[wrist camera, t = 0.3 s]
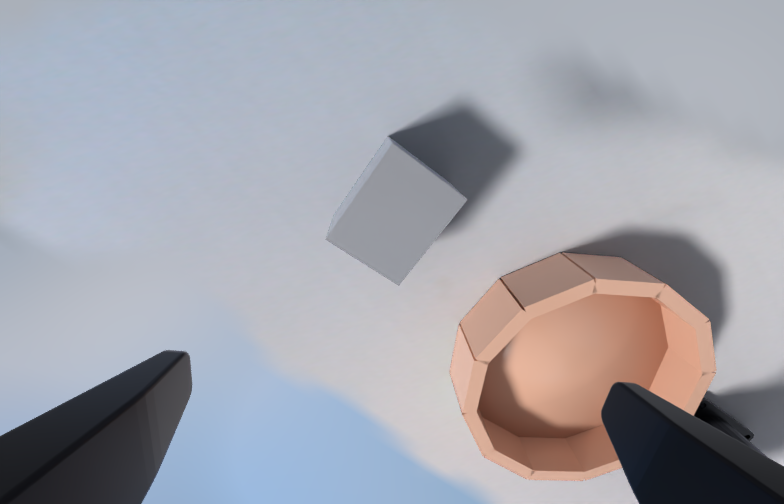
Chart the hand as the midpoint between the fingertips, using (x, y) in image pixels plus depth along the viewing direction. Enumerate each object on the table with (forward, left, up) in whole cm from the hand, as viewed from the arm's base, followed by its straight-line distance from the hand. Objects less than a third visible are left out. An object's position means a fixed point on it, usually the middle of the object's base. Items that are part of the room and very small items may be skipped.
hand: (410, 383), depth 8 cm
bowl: (-15, +1, -13) cm, 20 cm away
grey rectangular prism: (0, -1, -13) cm, 13 cm away
